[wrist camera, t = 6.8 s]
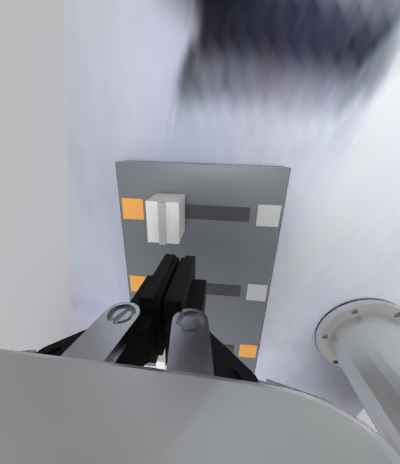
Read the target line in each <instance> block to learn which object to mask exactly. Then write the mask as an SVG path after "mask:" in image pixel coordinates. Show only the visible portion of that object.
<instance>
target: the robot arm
mask: <svg viewBox="0 0 400 464" xmlns="http://www.w3.org/2000/svg"><path fill="white" fill-rule="evenodd" d="M195 267H196V256H188V255H186V256H185V258H181V260H179V257H176V255H175V254H165V256H164V257H163V259H162V261H161V262H160V264H159V266H158V267H157V269H156V271H155V272H154V274H153V275H148V276H147V277H146V278H145V280H144V281H143V283H142V284H141V286H140V288H139V289H138V291H137V292H136V294H135V295H134V297H133V298H132V300H131V301H130V302H121V303H118V304H115V305H113V306H111V307H110V308H108V309H107V310H106V311H105V312H104V313H103V314H102V315H101V316H100V317H99V318H98V319H97V320H96V321H95V322H94V323H93V324H92V325H91V326H90V327H89V328H88V329H86V330H84V331H81V332H79V333H77V334H74V335H72V336H70V337H67V338H65V339H63V340H60V341H58V342H56V343H53V344H51V345H48V346H46V347H44V348H42V349H41V350H39V351H38V352H36V350H26V351H13V350H3V349H0V464H400V308H399V307H397V306H396V305H394V304H391V303H389V302H386V301H382V300H373V299H368V300H359V301H354V302H350V303H347V304H344V305H342V306H340V307H338V308H336V309H334V310H333V311H332V312H330V313H329V314H328V315H327V316H326V317H325V318H324V319H323V320H322V321H321V323H320V324H319V326H318V328H317V331H316V337H315V340H316V345H317V347H318V349H319V351H320V353H321V355H322V356H323V358H324V359H326V360H327V361H328V362H329V363H331V364H332V365H334V366H337V367H339V368H342V370H343V372H344V374H345V375H346V377H347V379H348V381H349V382H350V384H351V386H352V388H353V389H354V391H355V393H356V395H357V396H358V398H359V400H360V401H361V403H362V405H363V407H364V408H365V410H366V412H367V414H368V415H369V417H370V419H371V421H372V422H373V424H374V426H375V428H376V429H377V431H378V433H379V434H378V433H377V432H375V431H374V430H373V429H372V428H371V427H369V426H368V425H367V424H365V423H364V422H362V421H361V420H359V419H358V418H356V417H355V416H353V415H351V414H350V413H348V412H346V411H344V410H342V409H340V408H338V407H336V406H335V405H334V404H333V403H331V402H329V401H327V400H325V399H323V398H320V397H317V396H314V395H311V394H308V393H305V392H303V391H300V390H297V389H294V388H291V387H288V386H285V385H283V384H280V383H277V382H274V381H271V380H268V379H267V380H266V382H264V381H261V380H258V379H257V377H256V376H255V375H254V373H253V372H252V371H251V370H250V369H249V368H248V367H247V366H246V365H245V364H244V363H243V362H242V361H240V360H239V359H238V358H237V357H236V356H235V355H234V354H233V353H232V352H231V351H230V350H229V349H228V348H227V347H226V346H225V345H224V344H223V343H221V342H220V341H219V340H218V339H217V338H216V337H215V336H214V335H213V334H212V333H211V332H210V331H209V322H208V318H207V316H206V315H205V313H204V312H205V303H206V288H207V280H200V279H195ZM164 350H165V361H166V365H167V370H165V369H158V368H150V367H144V365H146V364H147V363H156V362H157V359H158V356H159V355H161V356H162V355H163V353H164Z"/></svg>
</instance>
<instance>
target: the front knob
mask: <svg viewBox="0 0 400 464" xmlns="http://www.w3.org/2000/svg"><path fill="white" fill-rule="evenodd" d="M145 204H146V220H147V235H148V242H153V243H159V245H166V243H170V244H179V243H180V240H181V238H182V236H183V233H184V231H185V194H169V193H157V194H155V195H154V196H152V197H151V198H149V199H148V200H146V201H145Z"/></svg>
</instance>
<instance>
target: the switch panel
mask: <svg viewBox="0 0 400 464" xmlns="http://www.w3.org/2000/svg"><path fill="white" fill-rule="evenodd" d="M115 164H116V173H117V182H118V191H119V201H120V210H121V219H122V228H123V238H124V247H125V256H126V265H127V275H128V284H129V293H130V301H131V300H132V298H133V297H134V295H135V294H136V292H137V291H138V289H139V288H140V286H141V284H142V283H143V281H144V280H145V278H146V277H147V276H148V275H153V274H154V272H155V271H156V269H157V267H158V266H159V264H160V262H161V261H162V259H163V257H164V256H165V254H175V255H176V257H179V260H181V258H185V256H186V255H188V256H196V267H195V279H200V280H207V288H206V303H205V312H204V313H205V315H206V316H207V318H208V322H209V331H210V332H211V333H212V334H213V335H214V336H215V337H216V338H217V339H218V340H219V341H220V342H221V343H223V344H224V345H225V346H226V347H227V348H228V349H229V350H230V351H231V352H232V353H233V354H234V355H235V356H236V357H237V358H238V359H239V360H240V361H242V362H243V363H244V364H245V365H246V366H247V367H248V368H249V369H250V370H251V371H252V372H253V373H255V368H256V362H257V356H258V351H259V345H260V340H261V334H262V328H263V323H264V317H265V311H266V306H267V300H268V295H269V289H270V283H271V278H272V272H273V266H274V261H275V255H276V250H277V244H278V238H279V233H280V227H281V221H282V216H283V210H284V205H285V199H286V193H287V188H288V182H289V176H290V171H291V168H288V167H283V166H259V165H232V164H204V163H176V162H148V161H118V162H115ZM157 193H169V194H185V231H184V233H183V236H182V238H181V240H180V243H179V244H170V243H166V245H159V243H153V242H148V235H147V220H146V204H145V201H146V200H148V199H149V198H151V197H152V196H154V195H155V194H157ZM146 365H149V366H156V363H147V364H146Z"/></svg>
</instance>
